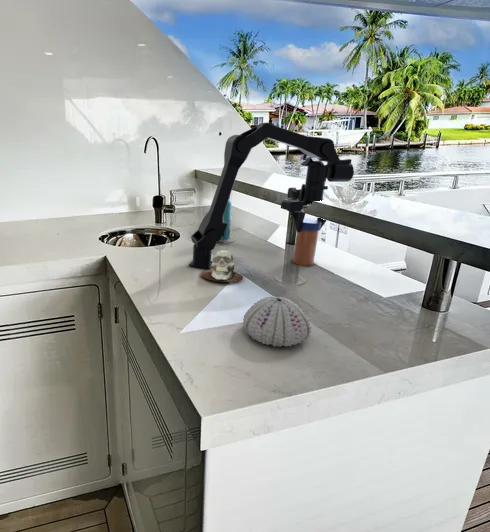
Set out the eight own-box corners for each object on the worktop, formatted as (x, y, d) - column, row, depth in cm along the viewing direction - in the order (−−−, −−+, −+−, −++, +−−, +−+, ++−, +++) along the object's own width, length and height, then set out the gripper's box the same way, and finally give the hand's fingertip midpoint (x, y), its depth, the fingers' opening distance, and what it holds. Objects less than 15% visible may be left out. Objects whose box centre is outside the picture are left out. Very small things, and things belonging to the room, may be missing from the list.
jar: (313, 266, 120) (320, 226, 116) (292, 264, 122) (298, 224, 118) (313, 260, 126) (319, 222, 121) (293, 258, 128) (298, 220, 123)
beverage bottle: (230, 244, 142) (235, 190, 135) (212, 244, 142) (216, 190, 135) (227, 240, 148) (232, 188, 141) (210, 239, 148) (214, 187, 142)
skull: (244, 283, 102) (220, 254, 101) (214, 302, 107) (191, 274, 106) (249, 268, 112) (227, 241, 112) (221, 286, 117) (201, 260, 116)
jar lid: (310, 224, 124) (311, 218, 123) (325, 230, 118) (326, 222, 117) (292, 225, 122) (293, 218, 122) (305, 231, 116) (306, 223, 115)
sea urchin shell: (320, 351, 73) (327, 314, 70) (251, 353, 72) (256, 315, 69) (292, 319, 85) (297, 286, 83) (233, 320, 84) (236, 287, 82)
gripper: (323, 178, 125) (316, 224, 130) (273, 179, 120) (268, 227, 125) (348, 182, 115) (339, 232, 120) (295, 183, 110) (288, 235, 115)
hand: (307, 231), depth 120 cm, fingers closed on jar lid, 7 cm apart
